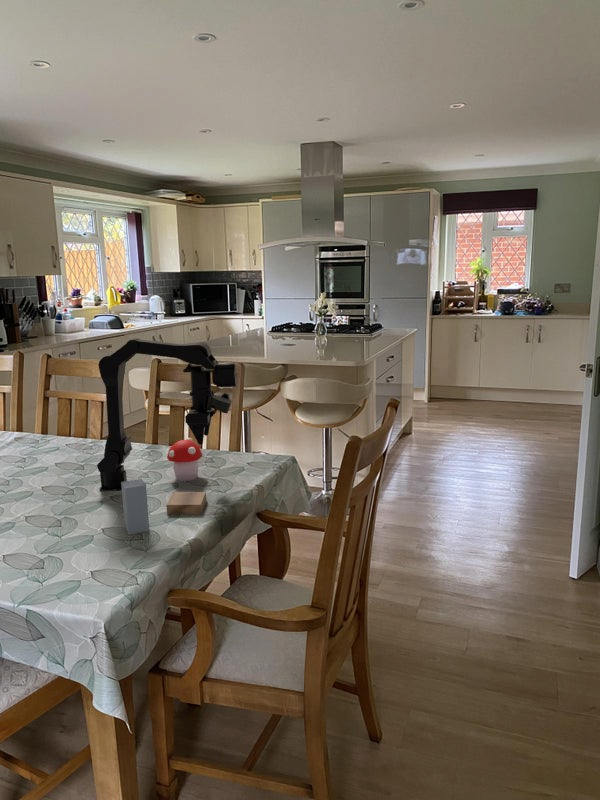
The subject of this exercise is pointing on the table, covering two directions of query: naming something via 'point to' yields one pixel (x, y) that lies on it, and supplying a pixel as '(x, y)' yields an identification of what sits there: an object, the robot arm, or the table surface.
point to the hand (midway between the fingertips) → (203, 439)
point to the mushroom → (185, 459)
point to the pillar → (135, 506)
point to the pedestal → (186, 503)
